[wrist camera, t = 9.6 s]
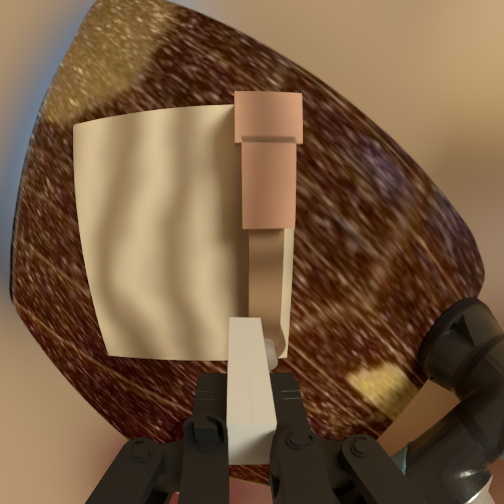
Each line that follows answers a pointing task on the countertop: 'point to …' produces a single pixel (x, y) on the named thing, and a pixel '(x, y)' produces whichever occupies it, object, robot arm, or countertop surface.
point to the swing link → (267, 287)
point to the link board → (183, 219)
